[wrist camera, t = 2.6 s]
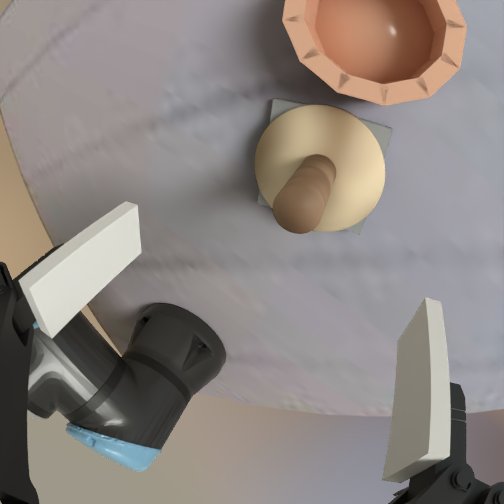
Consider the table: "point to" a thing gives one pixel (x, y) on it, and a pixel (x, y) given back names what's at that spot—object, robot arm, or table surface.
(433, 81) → the bowl
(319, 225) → the lid
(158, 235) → the table surface
